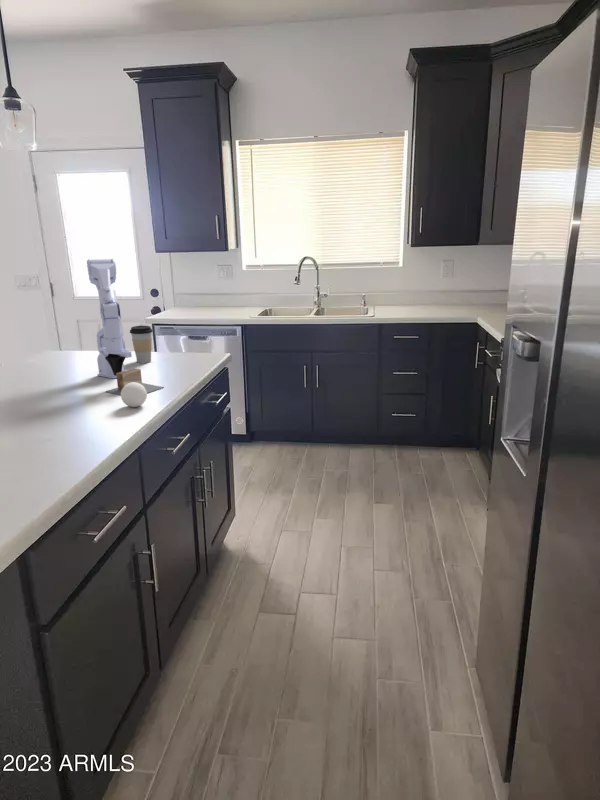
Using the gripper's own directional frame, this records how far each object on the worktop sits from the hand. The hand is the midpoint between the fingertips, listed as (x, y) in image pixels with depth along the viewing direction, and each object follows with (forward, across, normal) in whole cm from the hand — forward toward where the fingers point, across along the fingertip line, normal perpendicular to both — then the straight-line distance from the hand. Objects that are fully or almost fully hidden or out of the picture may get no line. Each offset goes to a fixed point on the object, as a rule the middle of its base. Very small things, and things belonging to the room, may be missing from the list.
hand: (117, 374), depth 188 cm
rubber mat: (+4, +8, 0) cm, 9 cm away
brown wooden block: (+4, +5, +1) cm, 7 cm away
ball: (+5, +22, -13) cm, 26 cm away
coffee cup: (+5, -21, +32) cm, 38 cm away
